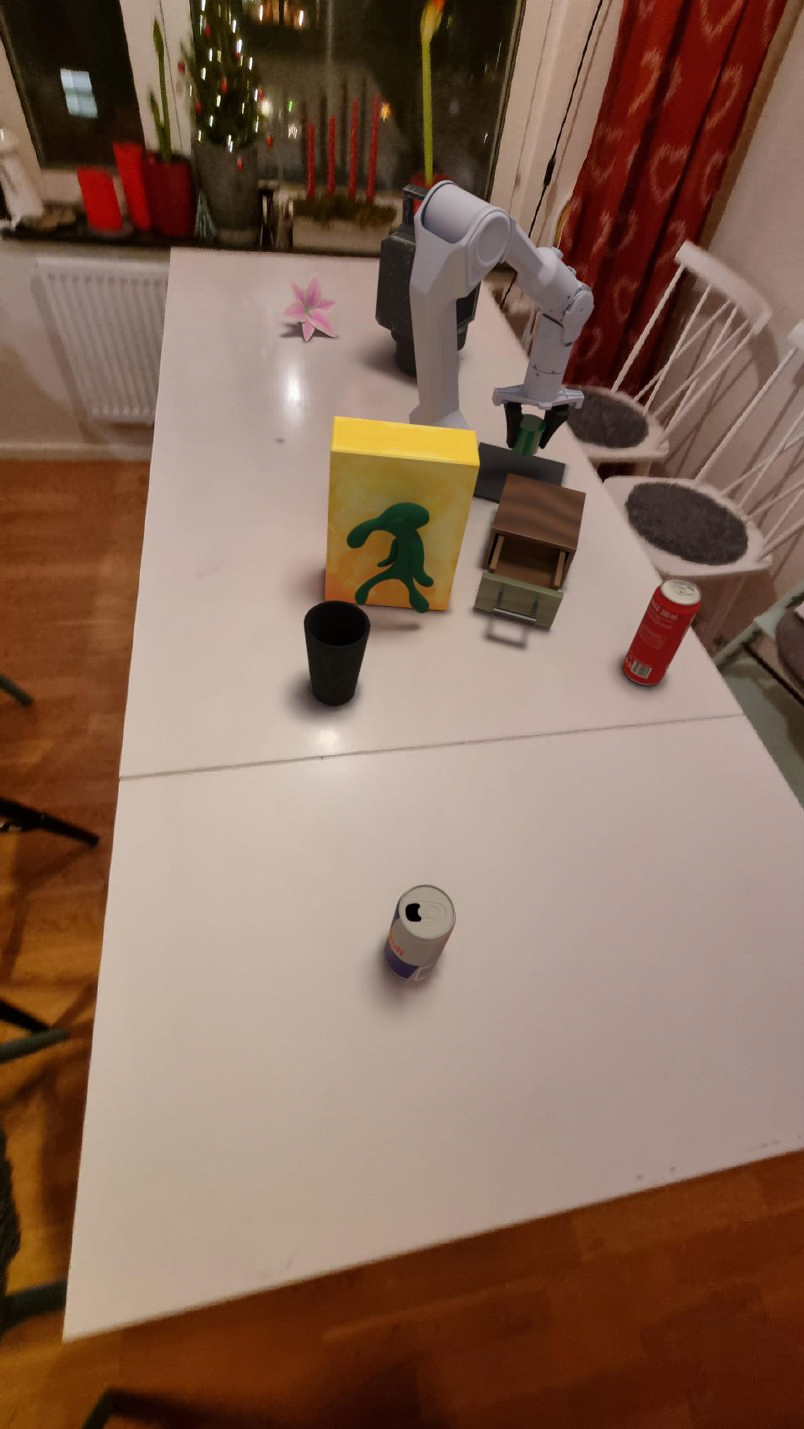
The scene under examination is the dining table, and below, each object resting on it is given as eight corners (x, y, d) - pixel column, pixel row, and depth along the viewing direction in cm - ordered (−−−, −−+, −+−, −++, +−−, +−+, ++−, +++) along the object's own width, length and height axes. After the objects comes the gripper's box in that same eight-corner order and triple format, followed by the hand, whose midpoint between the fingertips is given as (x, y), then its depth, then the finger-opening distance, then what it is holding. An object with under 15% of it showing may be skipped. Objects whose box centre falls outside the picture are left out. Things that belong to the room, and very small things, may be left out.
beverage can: (662, 691, 96) (713, 613, 84) (615, 680, 96) (660, 601, 84) (661, 660, 99) (710, 581, 87) (616, 650, 99) (658, 569, 87)
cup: (317, 720, 86) (319, 655, 76) (293, 676, 90) (293, 609, 80) (373, 701, 89) (382, 637, 79) (348, 659, 92) (353, 593, 83)
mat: (462, 493, 118) (462, 490, 117) (479, 444, 128) (480, 442, 127) (554, 517, 117) (555, 514, 116) (564, 466, 126) (565, 463, 126)
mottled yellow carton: (322, 628, 95) (327, 475, 76) (327, 567, 103) (333, 415, 84) (448, 637, 97) (483, 490, 78) (444, 577, 104) (476, 430, 85)
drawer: (546, 649, 97) (558, 620, 92) (467, 628, 97) (475, 597, 93) (561, 568, 107) (573, 538, 103) (490, 550, 108) (498, 519, 104)
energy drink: (381, 930, 71) (394, 882, 61) (433, 928, 72) (453, 880, 62) (385, 984, 68) (399, 942, 58) (439, 981, 68) (461, 940, 59)
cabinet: (561, 588, 106) (576, 549, 100) (481, 567, 107) (492, 527, 101) (571, 532, 115) (586, 492, 109) (497, 512, 116) (508, 472, 110)
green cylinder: (512, 456, 115) (520, 430, 112) (505, 438, 118) (512, 413, 115) (542, 457, 116) (550, 432, 113) (534, 439, 119) (542, 414, 116)
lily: (273, 343, 144) (288, 309, 135) (273, 296, 146) (288, 260, 138) (327, 361, 149) (345, 329, 141) (327, 315, 152) (344, 282, 144)
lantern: (473, 364, 146) (506, 193, 122) (429, 396, 136) (456, 218, 112) (412, 339, 149) (433, 168, 126) (366, 368, 139) (379, 190, 116)
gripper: (508, 376, 102) (488, 458, 113) (599, 380, 105) (572, 460, 116) (497, 352, 107) (479, 434, 117) (586, 356, 109) (560, 436, 120)
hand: (524, 445), depth 117 cm, fingers closed on green cylinder, 5 cm apart
